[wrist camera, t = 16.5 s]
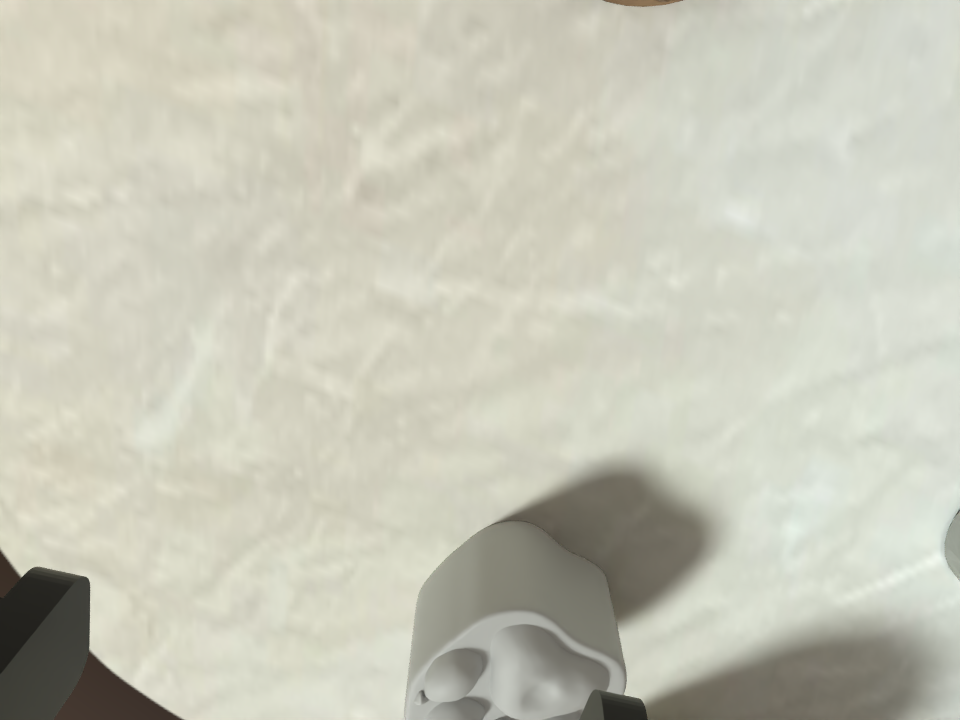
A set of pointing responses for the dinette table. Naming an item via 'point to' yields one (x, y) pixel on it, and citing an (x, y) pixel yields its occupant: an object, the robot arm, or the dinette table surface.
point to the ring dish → (642, 2)
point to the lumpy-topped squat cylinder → (512, 632)
